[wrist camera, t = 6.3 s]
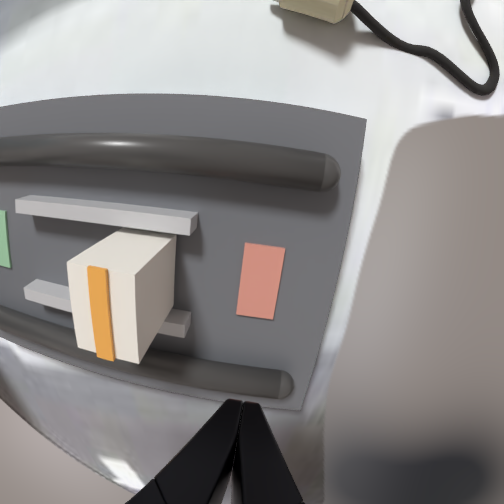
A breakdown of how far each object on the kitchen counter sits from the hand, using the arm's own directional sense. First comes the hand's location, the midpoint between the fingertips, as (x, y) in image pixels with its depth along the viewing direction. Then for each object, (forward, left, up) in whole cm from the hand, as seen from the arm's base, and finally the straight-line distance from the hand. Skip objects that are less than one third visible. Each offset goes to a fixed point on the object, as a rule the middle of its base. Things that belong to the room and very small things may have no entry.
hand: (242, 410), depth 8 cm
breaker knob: (0, +6, -9) cm, 11 cm away
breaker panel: (0, +9, -12) cm, 15 cm away
